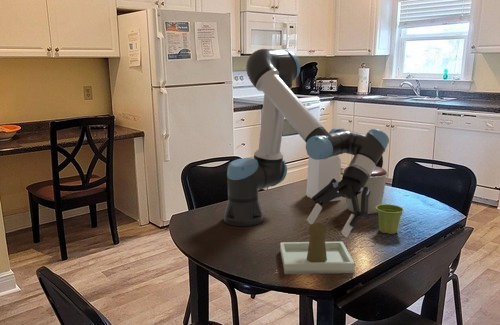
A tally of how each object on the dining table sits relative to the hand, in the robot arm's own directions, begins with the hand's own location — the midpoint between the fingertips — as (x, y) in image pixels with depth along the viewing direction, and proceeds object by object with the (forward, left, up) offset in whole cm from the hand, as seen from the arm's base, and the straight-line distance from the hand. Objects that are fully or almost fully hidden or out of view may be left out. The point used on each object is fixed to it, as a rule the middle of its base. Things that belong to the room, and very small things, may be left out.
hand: (325, 228), depth 133 cm
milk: (+11, +64, -10) cm, 66 cm away
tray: (-3, -2, -10) cm, 11 cm away
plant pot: (+27, +22, -10) cm, 36 cm away
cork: (-3, -2, -9) cm, 10 cm away
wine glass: (+33, +68, -10) cm, 76 cm away
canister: (+24, +45, -10) cm, 52 cm away
